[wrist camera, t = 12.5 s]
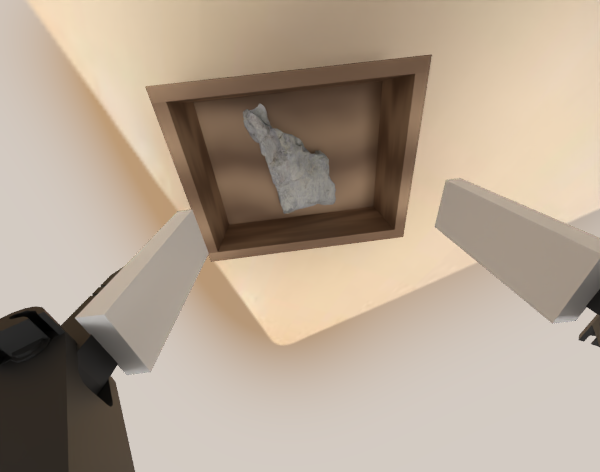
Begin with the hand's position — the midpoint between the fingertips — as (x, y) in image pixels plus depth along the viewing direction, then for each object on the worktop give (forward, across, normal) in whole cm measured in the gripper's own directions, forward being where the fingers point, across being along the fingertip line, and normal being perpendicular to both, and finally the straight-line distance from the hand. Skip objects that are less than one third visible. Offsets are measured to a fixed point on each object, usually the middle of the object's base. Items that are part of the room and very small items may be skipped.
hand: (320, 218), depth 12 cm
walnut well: (+16, -1, 0) cm, 16 cm away
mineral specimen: (+15, -1, -1) cm, 15 cm away
